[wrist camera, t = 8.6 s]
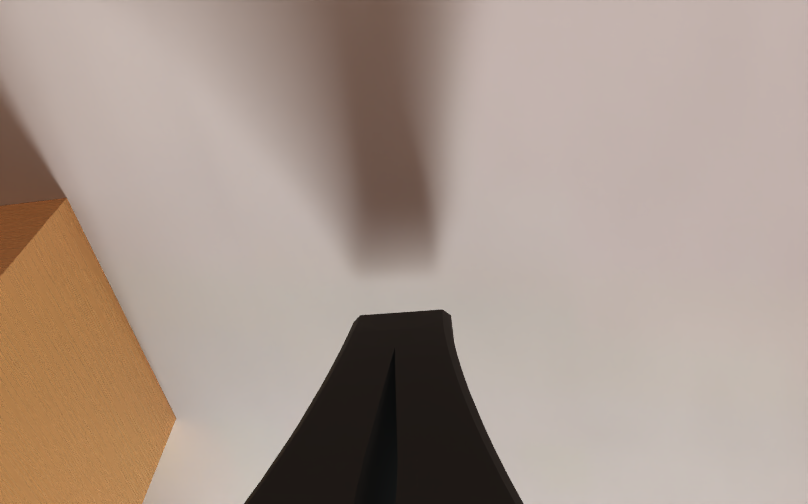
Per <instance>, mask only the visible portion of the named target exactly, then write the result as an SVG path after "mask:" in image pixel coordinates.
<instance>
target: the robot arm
mask: <svg viewBox="0 0 808 504" xmlns="http://www.w3.org/2000/svg"><path fill="white" fill-rule="evenodd" d="M244 504H523V502H522V500H521V498H520V497H519V495H518V493H517V491H516V489H515V488H514V486H513V484H512V482H511V480H510V478H509V476H508V474H507V472H506V471H505V469H504V467H503V465H502V463H501V461H500V459H499V457H498V455H497V453H496V451H495V449H494V447H493V445H492V442H491V440H490V438H489V436H488V434H487V432H486V430H485V427H484V425H483V423H482V420H481V418H480V416H479V413H478V411H477V408H476V406H475V404H474V401H473V399H472V396H471V394H470V392H469V389H468V386H467V383H466V381H465V378H464V375H463V372H462V369H461V366H460V362H459V359H458V356H457V352H456V348H455V344H454V338H453V329H452V321H451V315H449V314H448V313H447V312H445V311H444V310H430V311H416V312H402V313H388V314H374V315H360V316H359V317H358V318H357V319H356V320H355V321H354V323H353V325H352V327H351V330H350V332H349V334H348V336H347V338H346V340H345V342H344V344H343V346H342V348H341V350H340V352H339V354H338V356H337V358H336V360H335V362H334V364H333V366H332V367H331V369H330V371H329V373H328V375H327V376H326V378H325V380H324V382H323V384H322V386H321V387H320V389H319V391H318V392H317V394H316V396H315V397H314V399H313V401H312V402H311V404H310V406H309V407H308V409H307V411H306V412H305V414H304V416H303V418H302V419H301V421H300V423H299V424H298V426H297V427H296V429H295V431H294V432H293V434H292V435H291V437H290V438H289V440H288V441H287V443H286V444H285V446H284V447H283V449H282V450H281V452H280V453H279V455H278V456H277V458H276V459H275V461H274V462H273V464H272V465H271V466H270V468H269V469H268V471H267V472H266V474H265V475H264V477H263V478H262V480H261V481H260V483H259V484H258V485H257V487H256V488H255V489H254V491H253V492H252V494H251V495H250V496H249V498H248V499H247V500H246V502H245V503H244Z"/></svg>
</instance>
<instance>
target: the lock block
mask: <svg viewBox="0 0 808 504" xmlns="http://www.w3.org/2000/svg"><path fill="white" fill-rule="evenodd" d="M175 420H176V417H175V415H174V413H173V411H172V409H171V407H170V405H169V403H168V401H167V399H166V397H165V395H164V393H163V391H162V389H161V387H160V385H159V383H158V381H157V379H156V377H155V375H154V373H153V371H152V369H151V367H150V365H149V363H148V361H147V359H146V357H145V355H144V353H143V351H142V349H141V347H140V345H139V343H138V341H137V339H136V337H135V335H134V333H133V331H132V329H131V327H130V325H129V323H128V321H127V319H126V317H125V315H124V313H123V311H122V308H121V306H120V304H119V302H118V300H117V298H116V296H115V294H114V292H113V290H112V288H111V286H110V284H109V282H108V280H107V278H106V276H105V274H104V272H103V270H102V268H101V266H100V264H99V262H98V260H97V258H96V256H95V254H94V252H93V250H92V248H91V246H90V244H89V242H88V240H87V238H86V236H85V234H84V232H83V230H82V228H81V226H80V224H79V222H78V220H77V218H76V216H75V214H74V212H73V210H72V208H71V206H70V204H69V202H68V200H67V198H63V199H54V200H46V201H38V202H29V203H21V204H13V205H4V206H0V504H142V503H143V500H144V498H145V495H146V493H147V490H148V488H149V485H150V483H151V480H152V477H153V475H154V472H155V470H156V467H157V465H158V462H159V460H160V457H161V455H162V452H163V450H164V447H165V445H166V442H167V440H168V437H169V435H170V432H171V430H172V427H173V425H174V422H175Z"/></svg>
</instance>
